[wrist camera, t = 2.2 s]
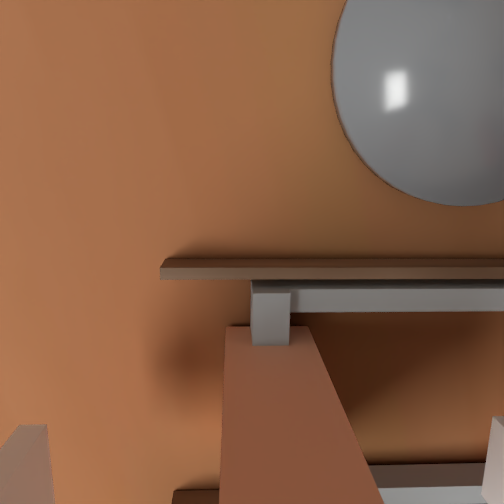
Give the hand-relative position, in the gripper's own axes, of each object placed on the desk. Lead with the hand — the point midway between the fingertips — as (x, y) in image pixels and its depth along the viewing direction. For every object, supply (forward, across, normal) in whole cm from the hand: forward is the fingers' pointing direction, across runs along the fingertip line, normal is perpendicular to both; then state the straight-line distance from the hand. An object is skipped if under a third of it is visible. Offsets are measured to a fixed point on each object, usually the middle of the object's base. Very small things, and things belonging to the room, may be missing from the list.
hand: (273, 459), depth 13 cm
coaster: (+4, +6, +12) cm, 14 cm away
